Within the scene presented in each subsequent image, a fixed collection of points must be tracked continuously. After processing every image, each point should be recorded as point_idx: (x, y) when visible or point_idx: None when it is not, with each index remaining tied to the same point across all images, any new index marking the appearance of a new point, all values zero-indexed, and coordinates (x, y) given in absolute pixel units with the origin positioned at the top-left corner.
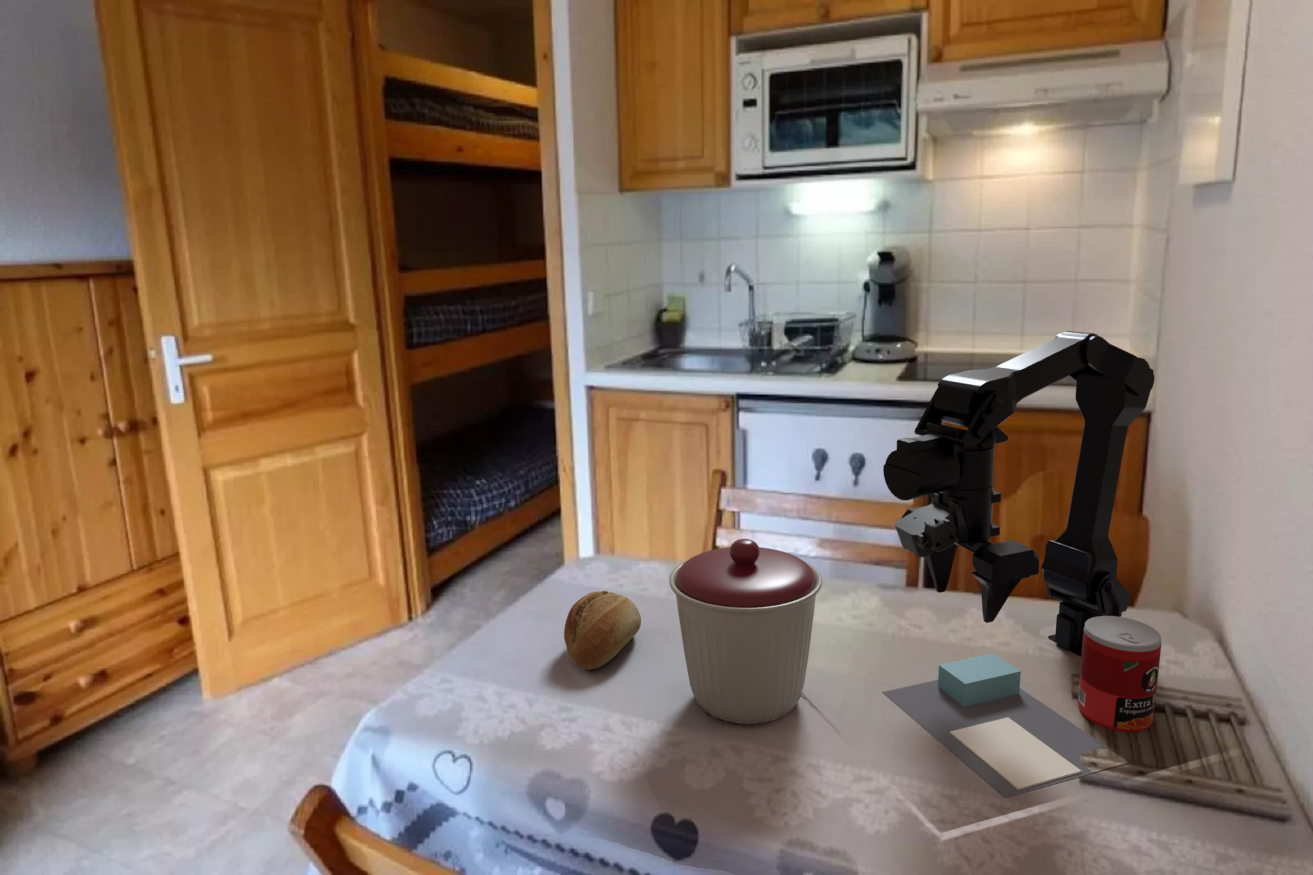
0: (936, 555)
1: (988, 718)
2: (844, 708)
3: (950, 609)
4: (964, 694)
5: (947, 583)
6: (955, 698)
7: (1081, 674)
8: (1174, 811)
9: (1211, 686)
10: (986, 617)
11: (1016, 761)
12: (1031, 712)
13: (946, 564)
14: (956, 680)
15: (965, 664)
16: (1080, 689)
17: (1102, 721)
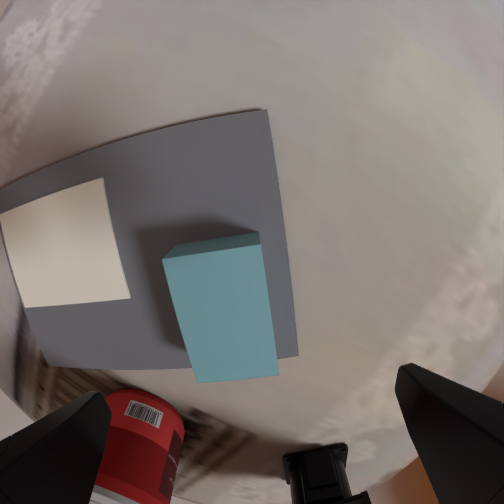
0: (499, 483)
1: (134, 267)
2: (239, 32)
3: (470, 365)
4: (169, 251)
5: (404, 419)
6: (201, 241)
7: (134, 435)
8: (4, 343)
9: (201, 494)
10: (73, 401)
11: (34, 242)
12: (146, 340)
13: (447, 476)
14: (192, 252)
15: (247, 304)
16: (139, 417)
17: (109, 396)
